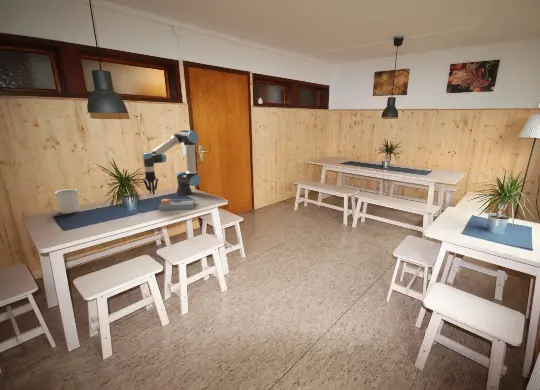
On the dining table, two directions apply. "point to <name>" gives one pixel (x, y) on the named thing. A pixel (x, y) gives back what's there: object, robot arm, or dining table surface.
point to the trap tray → (178, 204)
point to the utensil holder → (68, 200)
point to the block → (165, 201)
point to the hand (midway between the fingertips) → (152, 197)
